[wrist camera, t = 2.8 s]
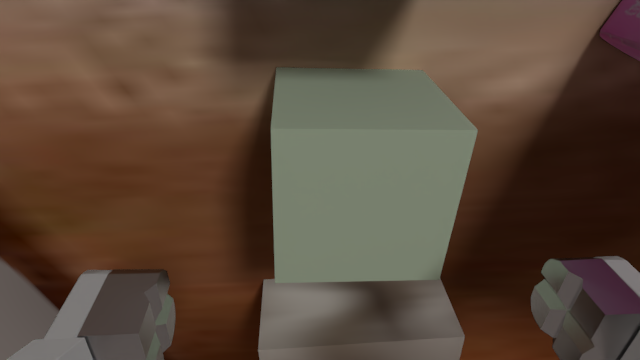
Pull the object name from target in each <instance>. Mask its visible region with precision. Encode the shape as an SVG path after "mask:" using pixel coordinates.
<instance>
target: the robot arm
mask: <svg viewBox="0 0 640 360" xmlns="http://www.w3.org/2000/svg"><path fill="white" fill-rule="evenodd" d="M541 273H542V275H543V277H544V280H542V281H541V282H540V283H539V284H537V285H536V286H535V287H534V290H533V292H532V295H531V311H532V313H533V316H534V319H535V321H536V322H537V324H538V326H539V327H540V329H541V330H542V331H544V332H545V333H547V334H548V335H550V336H551V337H553V344H552V348H553V349H554V351H555V352H556V354H557V355H558V357H559V358H560V360H640V273H639V272H638V271H637V270H636V269H635V268H634V267H633V266H632V265H631V264H630V263H629V262H628V261H627V260H625V259H623V258H621V257H619V256H604V257H582V258H555V259H549V260H548V261H547V262H546V263H545V264H544V266H543V268H542V271H541ZM169 285H170V281H169V277H168V273H167V271H166V270H164V269H114V270H87V271H85V272H84V273H83V274H81V275H80V277H79V278H78V280H77V282H76V284H75V285H74V287H73V289H72V290H71V292H70V294H69V296H68V297H67V299H66V301H65V302H64V304H63V306H62V308H61V309H60V311H59V313H58V314H57V316H56V318H55V320H54V321H53V323H52V325H51V326H50V328H49V330H48V332H47V333H46V335H45V337H44V338H43V339H35V340H33V341H32V342H30V343H29V344H27V345H26V346H25V347H23V348H22V349H20V350H19V351H17V352H16V353H15V354H13V355H12V356H10V357H9V358H8V359H6V360H164V356H163V352H164V351H165V350H166V349H167V348H168V347H169V346H170V345H171V343H172V338H173V334H174V327H175V305H174V300H173V298H172V297H171V296H169V295H168V294H167V291H168V288H169Z"/></svg>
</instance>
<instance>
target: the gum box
mask: <svg viewBox="0 0 640 360" xmlns="http://www.w3.org/2000/svg"><path fill="white" fill-rule="evenodd" d="M600 36H601V38H602V39H604V40H605V41H606V42H608V43H609V44H611V45H612V46H614V47H616V48H617V49H619V50H621V51H622V52H624V53H626V54H628V55H629V56H631V57H633V58H635V59H636V60H638V61H640V0H622V1H621V2H620V4H619V5H618V6H617V8H616V9H615V10H614V12H613V13H612V15H611V16H610V17H609V19H608V20H607V21H606V23H605V24H604V25H603V27H602V28H601V30H600Z"/></svg>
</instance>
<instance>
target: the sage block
mask: <svg viewBox="0 0 640 360" xmlns="http://www.w3.org/2000/svg"><path fill="white" fill-rule="evenodd" d="M477 132H478V130H477V129H476V128H475V126H474V125H473V124H472V123H471V122H470V121H469V120H468V119H467V118H466V117H465V116H464V115H463V113H462V112H461V111H460V110H459V109H458V108H457V107H456V106H455V105H454V104H453V103H452V102H451V100H450V99H449V98H448V97H447V96H446V95H445V94H444V93H443V92H442V91H441V90H440V89H439V87H438V86H437V85H436V84H435V83H434V82H433V81H432V80H431V79H430V78H429V77H428V76H427V75H426V73H425V72H424V71H423V70H391V69H338V68H285V67H276V77H275V87H274V98H273V109H272V120H271V159H272V195H273V231H274V266H275V283H303V282H354V281H405V280H439V279H440V275H441V271H442V267H443V264H444V260H445V256H446V252H447V248H448V244H449V240H450V236H451V233H452V229H453V225H454V221H455V217H456V213H457V209H458V205H459V202H460V198H461V194H462V190H463V186H464V182H465V178H466V174H467V171H468V167H469V163H470V159H471V155H472V151H473V147H474V143H475V140H476V136H477Z"/></svg>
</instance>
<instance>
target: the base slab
mask: <svg viewBox="0 0 640 360" xmlns="http://www.w3.org/2000/svg"><path fill="white" fill-rule="evenodd" d="M464 338H465V336H464V333H463V331H462V328H461V326H460V324H459V321H458V319H457V317H456V314H455V312H454V310H453V307H452V305H451V303H450V300H449V298H448V296H447V293H446V291H445V288H444V286H443V284H442V281H441V279H439V280H405V281H354V282H303V283H275V279H266V280H264V281H263V294H262V306H261V319H260V332H259V345H258V353H259V359H260V360H459V359H460V355H461V350H462V346H463V342H464Z"/></svg>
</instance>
